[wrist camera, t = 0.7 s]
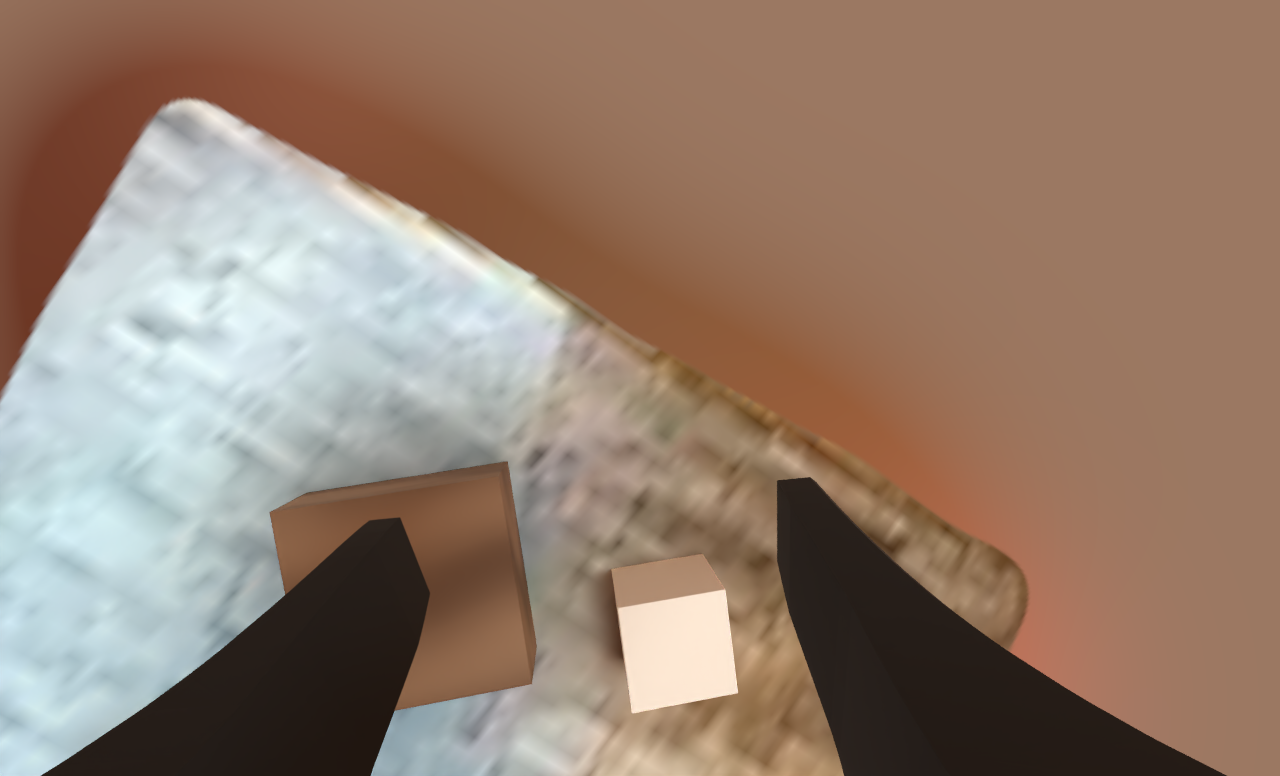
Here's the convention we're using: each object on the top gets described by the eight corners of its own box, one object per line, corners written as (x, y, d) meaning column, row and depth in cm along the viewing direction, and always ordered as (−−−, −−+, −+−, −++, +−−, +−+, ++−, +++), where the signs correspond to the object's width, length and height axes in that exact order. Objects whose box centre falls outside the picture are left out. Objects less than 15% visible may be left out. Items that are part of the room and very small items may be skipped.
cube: (713, 641, 33) (738, 693, 28) (623, 657, 32) (632, 713, 27) (702, 553, 32) (725, 589, 27) (611, 568, 32) (617, 608, 27)
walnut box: (537, 642, 32) (531, 683, 28) (344, 678, 31) (310, 726, 27) (508, 460, 31) (498, 476, 27) (309, 491, 30) (269, 512, 26)
